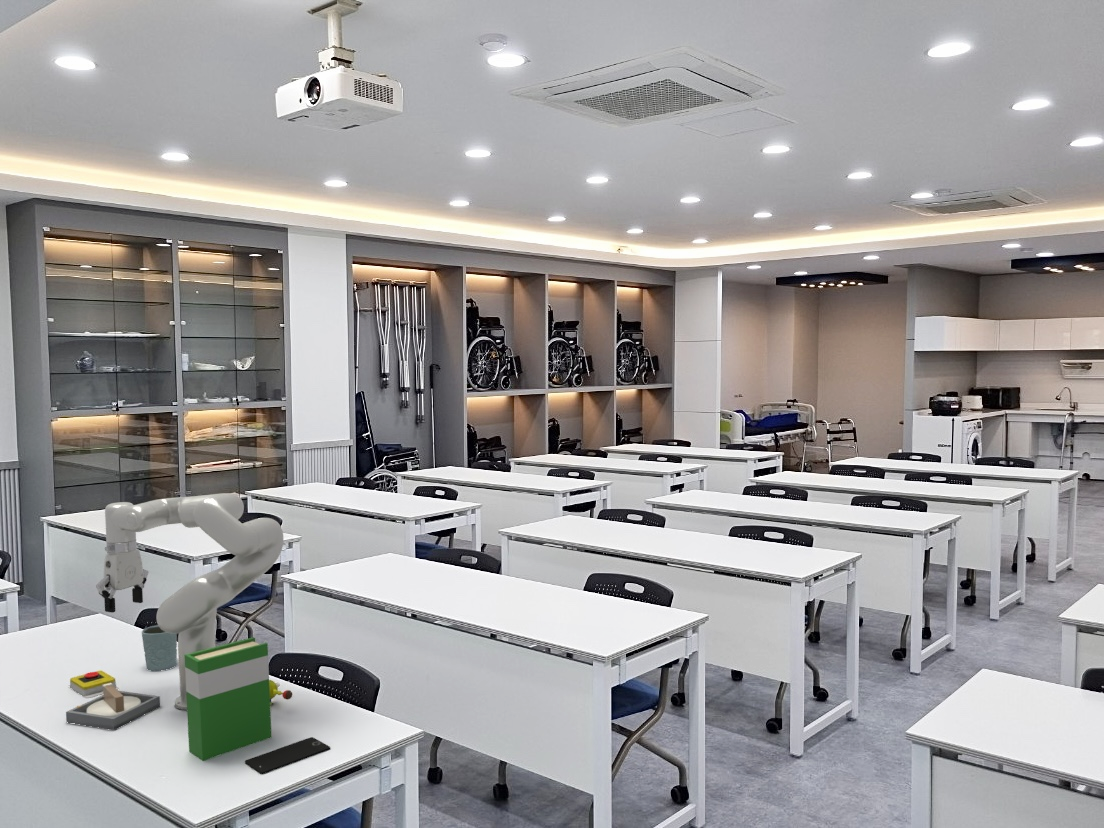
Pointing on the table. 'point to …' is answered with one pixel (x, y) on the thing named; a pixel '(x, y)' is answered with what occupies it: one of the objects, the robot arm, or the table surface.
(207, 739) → the hardback book
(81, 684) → the emergency button
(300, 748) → the cell phone
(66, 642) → the table surface
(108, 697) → the dial
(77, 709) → the dial housing
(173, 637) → the teal cup
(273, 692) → the toy figure
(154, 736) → the table surface
